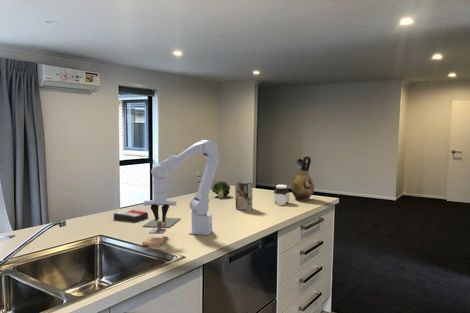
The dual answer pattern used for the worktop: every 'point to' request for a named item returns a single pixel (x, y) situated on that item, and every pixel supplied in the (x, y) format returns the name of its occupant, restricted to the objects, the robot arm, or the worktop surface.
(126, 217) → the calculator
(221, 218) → the worktop surface
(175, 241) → the worktop surface
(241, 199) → the coffee box
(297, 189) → the ceramic jug
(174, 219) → the mat
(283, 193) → the spread jar
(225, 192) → the vegetable
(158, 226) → the beige long bar
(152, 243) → the tile
